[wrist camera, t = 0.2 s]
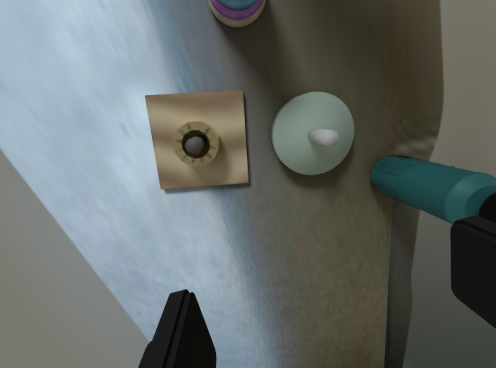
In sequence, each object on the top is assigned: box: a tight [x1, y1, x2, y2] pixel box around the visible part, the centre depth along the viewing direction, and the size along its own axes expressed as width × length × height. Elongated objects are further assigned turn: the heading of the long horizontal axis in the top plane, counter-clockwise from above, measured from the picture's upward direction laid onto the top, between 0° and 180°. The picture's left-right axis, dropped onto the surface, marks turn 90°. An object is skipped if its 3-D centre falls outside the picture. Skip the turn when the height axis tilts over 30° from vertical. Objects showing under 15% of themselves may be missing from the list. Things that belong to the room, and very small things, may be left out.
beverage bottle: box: [371, 154, 496, 225], centre depth 30 cm, size 6×7×20 cm
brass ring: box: [173, 121, 220, 167], centre depth 33 cm, size 6×6×4 cm
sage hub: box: [271, 92, 354, 175], centre depth 32 cm, size 12×12×9 cm
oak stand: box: [145, 90, 249, 189], centre depth 33 cm, size 14×14×7 cm
